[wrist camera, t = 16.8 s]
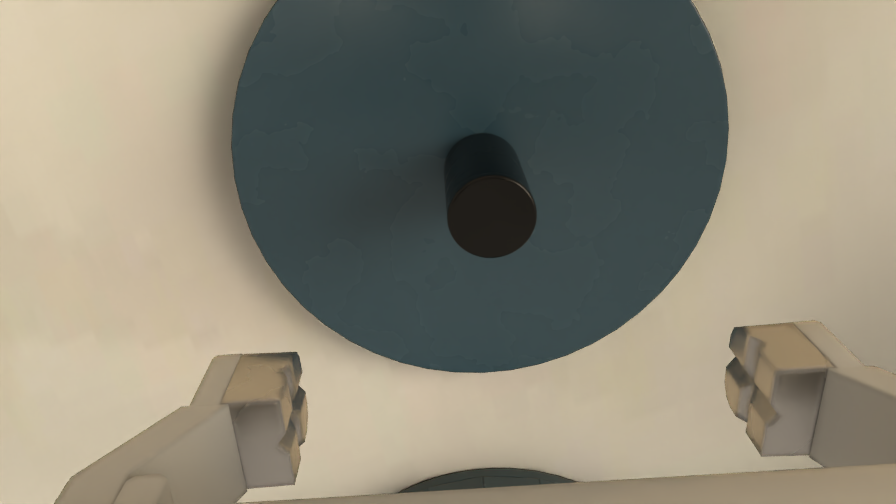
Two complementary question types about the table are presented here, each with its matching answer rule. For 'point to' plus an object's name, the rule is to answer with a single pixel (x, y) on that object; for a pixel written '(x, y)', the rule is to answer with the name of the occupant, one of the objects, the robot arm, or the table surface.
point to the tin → (487, 480)
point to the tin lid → (478, 168)
